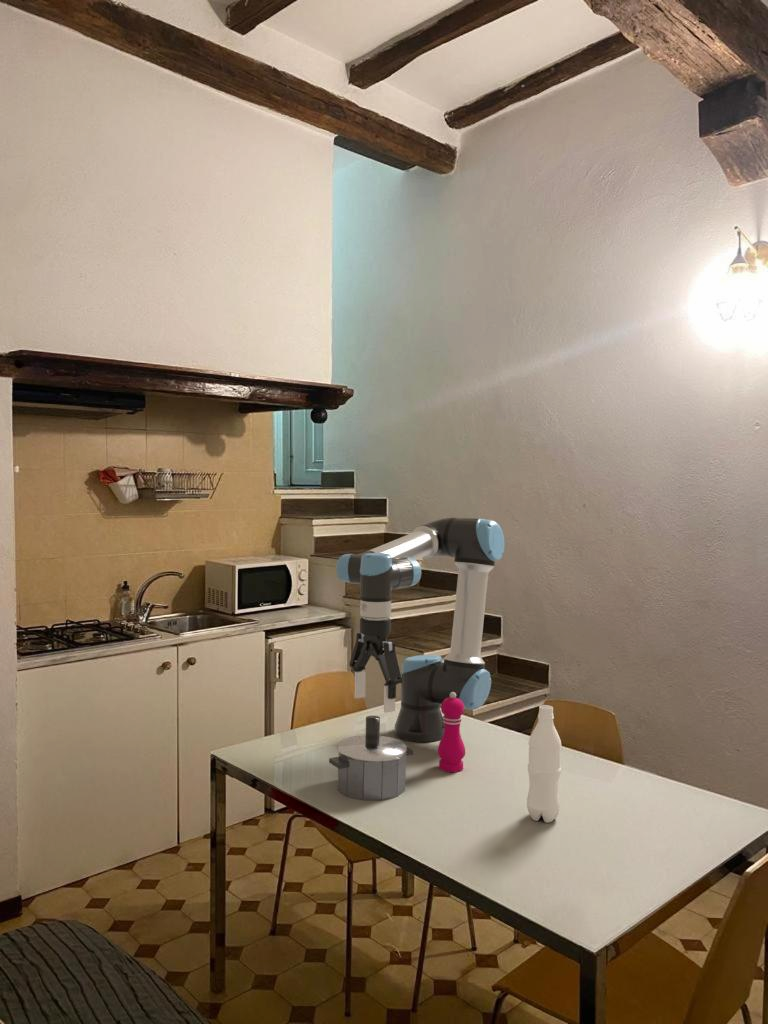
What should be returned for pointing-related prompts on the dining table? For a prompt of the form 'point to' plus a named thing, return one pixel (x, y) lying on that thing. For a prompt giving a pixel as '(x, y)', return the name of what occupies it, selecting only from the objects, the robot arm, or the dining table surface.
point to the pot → (371, 777)
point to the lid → (372, 745)
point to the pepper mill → (451, 735)
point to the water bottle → (544, 767)
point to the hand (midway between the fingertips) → (374, 704)
